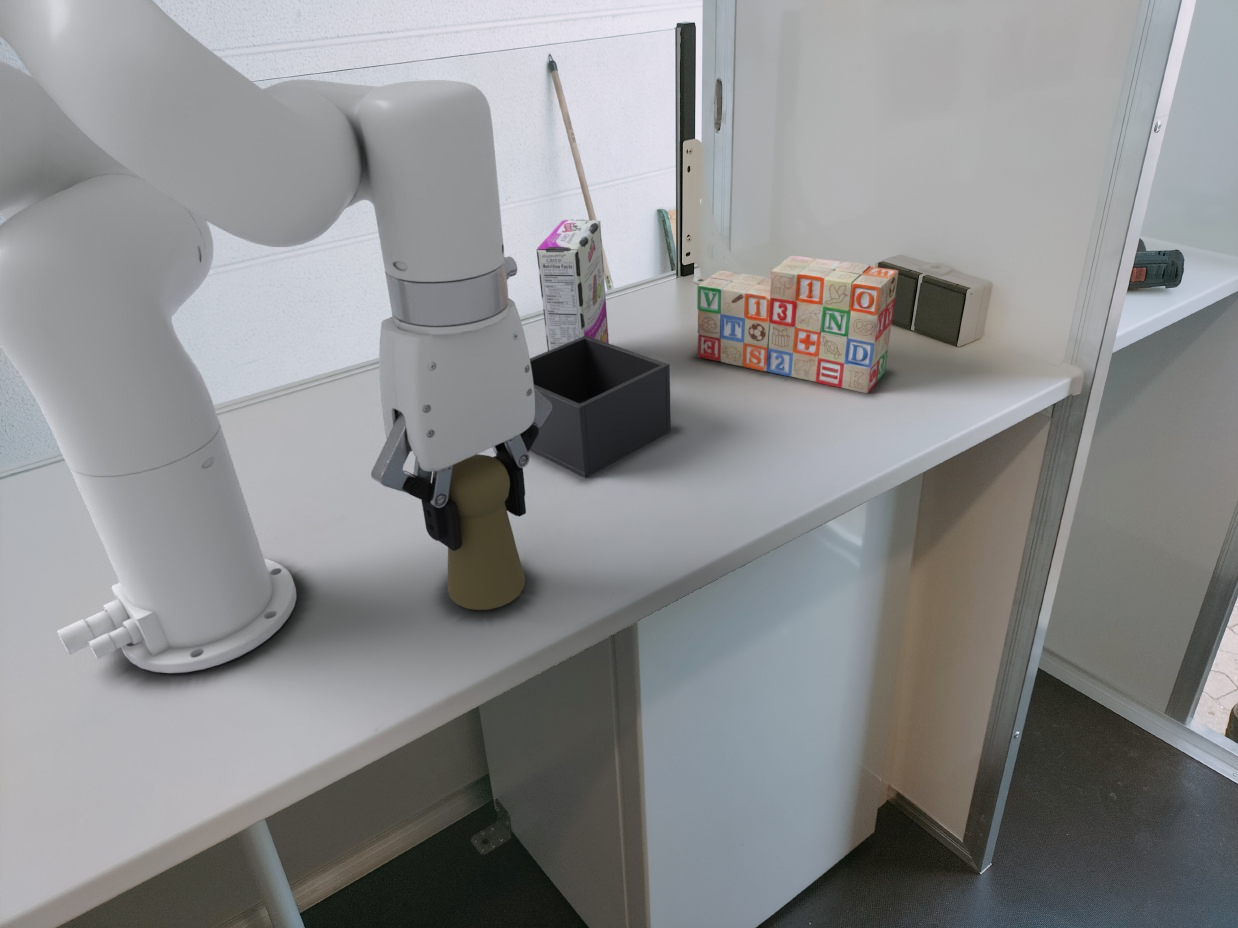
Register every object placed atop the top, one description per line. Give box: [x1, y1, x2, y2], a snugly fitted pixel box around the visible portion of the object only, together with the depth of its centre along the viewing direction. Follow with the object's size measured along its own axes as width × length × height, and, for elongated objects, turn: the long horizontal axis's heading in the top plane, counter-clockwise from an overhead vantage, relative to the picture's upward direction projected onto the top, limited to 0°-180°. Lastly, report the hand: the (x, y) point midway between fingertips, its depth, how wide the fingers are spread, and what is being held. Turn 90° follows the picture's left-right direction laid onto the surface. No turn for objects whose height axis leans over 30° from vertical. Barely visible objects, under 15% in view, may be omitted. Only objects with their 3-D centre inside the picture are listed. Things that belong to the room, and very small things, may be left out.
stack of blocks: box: [696, 255, 899, 394], centre depth 97 cm, size 21×6×12 cm, turn 58°
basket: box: [529, 336, 672, 479], centre depth 86 cm, size 12×12×8 cm
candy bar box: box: [535, 219, 610, 351], centre depth 99 cm, size 11×5×16 cm, turn 168°
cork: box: [447, 453, 526, 611], centre depth 64 cm, size 6×6×11 cm
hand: (478, 523), depth 64 cm, fingers closed on cork, 5 cm apart
